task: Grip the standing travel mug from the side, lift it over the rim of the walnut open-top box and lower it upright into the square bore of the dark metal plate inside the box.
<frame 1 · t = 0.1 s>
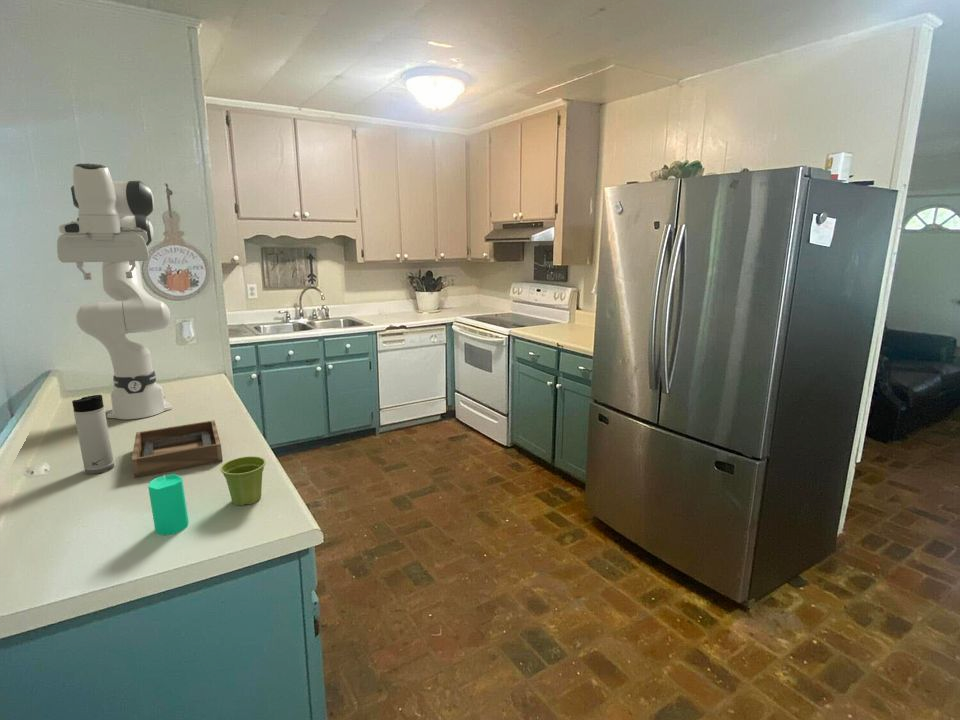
hand: (109, 278, 142), 48 cm above the worktop, tool pointing down, fingers open, 8 cm apart
plant pot: (247, 500, 119), on the worktop
open box: (179, 455, 144), on the worktop
candle: (172, 528, 108), on the worktop
travel mug: (100, 469, 135), on the worktop
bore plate: (178, 448, 143), in the open box, point 1 cm above the worktop
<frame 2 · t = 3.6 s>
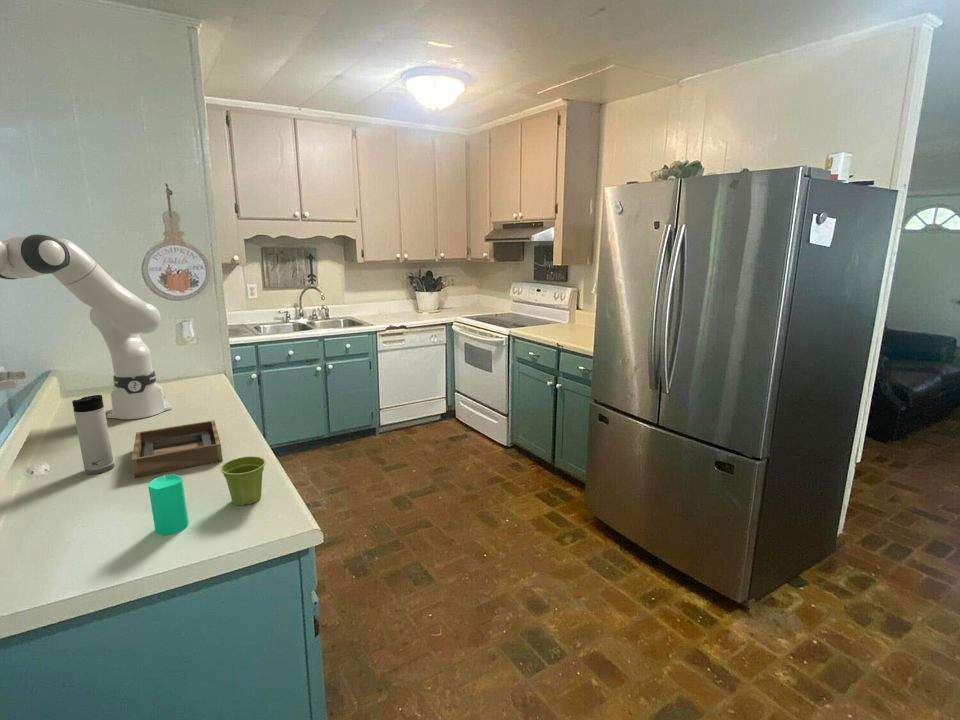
hand: (21, 378, 123), 26 cm above the worktop, tool horizontal, fingers open, 8 cm apart
nothing on the worktop moved.
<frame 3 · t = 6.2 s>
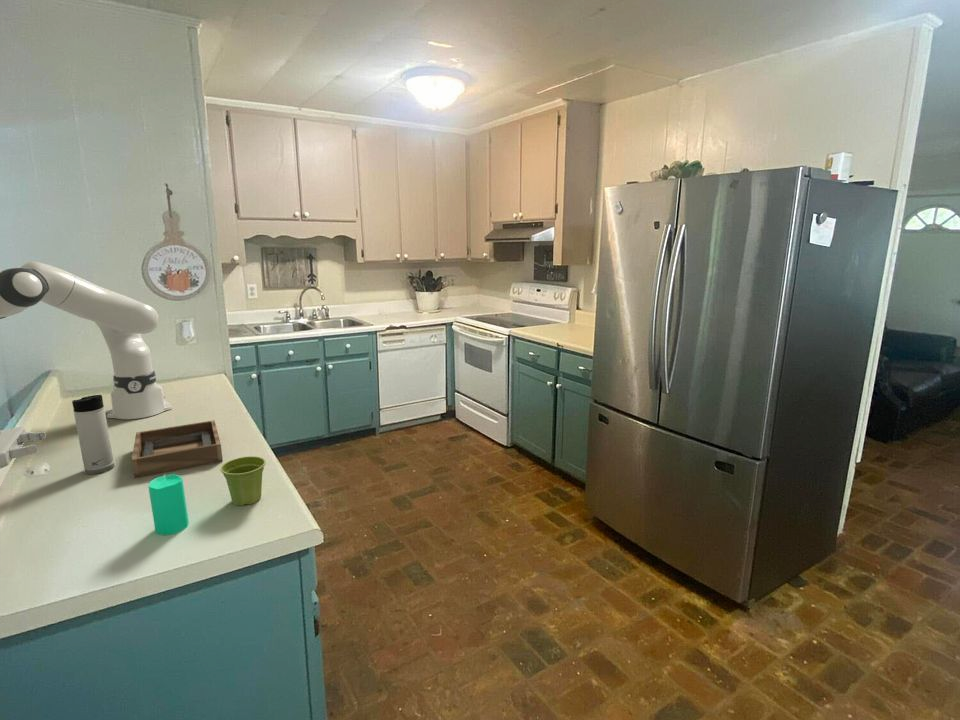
hand: (41, 441, 127), 10 cm above the worktop, tool horizontal, fingers open, 8 cm apart
nothing on the worktop moved.
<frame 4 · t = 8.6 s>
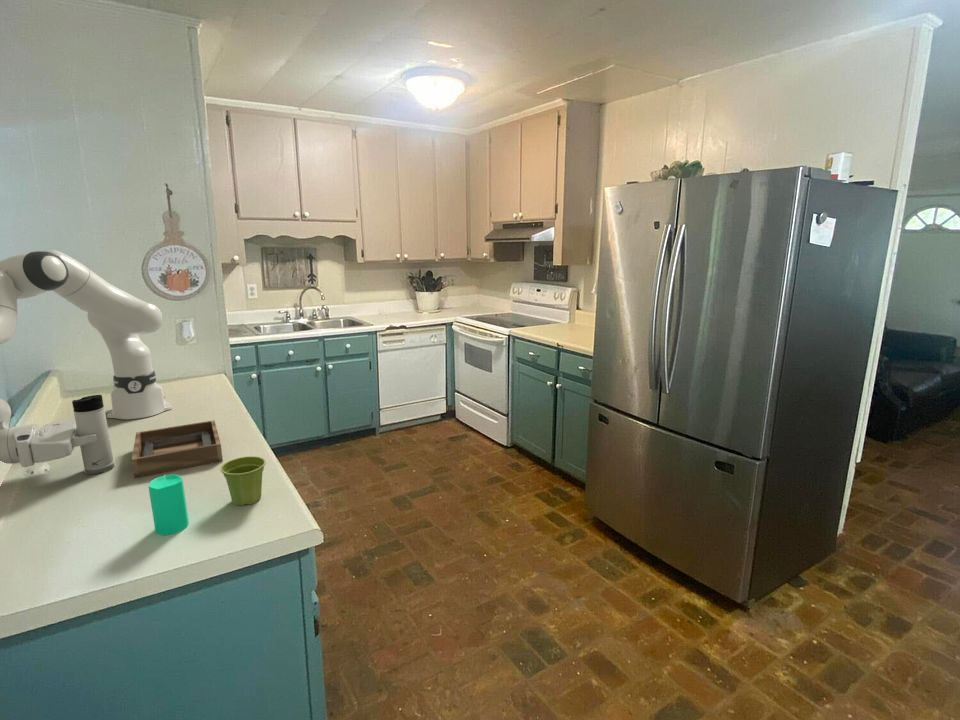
hand: (98, 432, 133), 10 cm above the worktop, tool horizontal, fingers closed on travel mug, 6 cm apart
travel mug: (100, 469, 135), on the worktop, touching gripper
everything else where it was.
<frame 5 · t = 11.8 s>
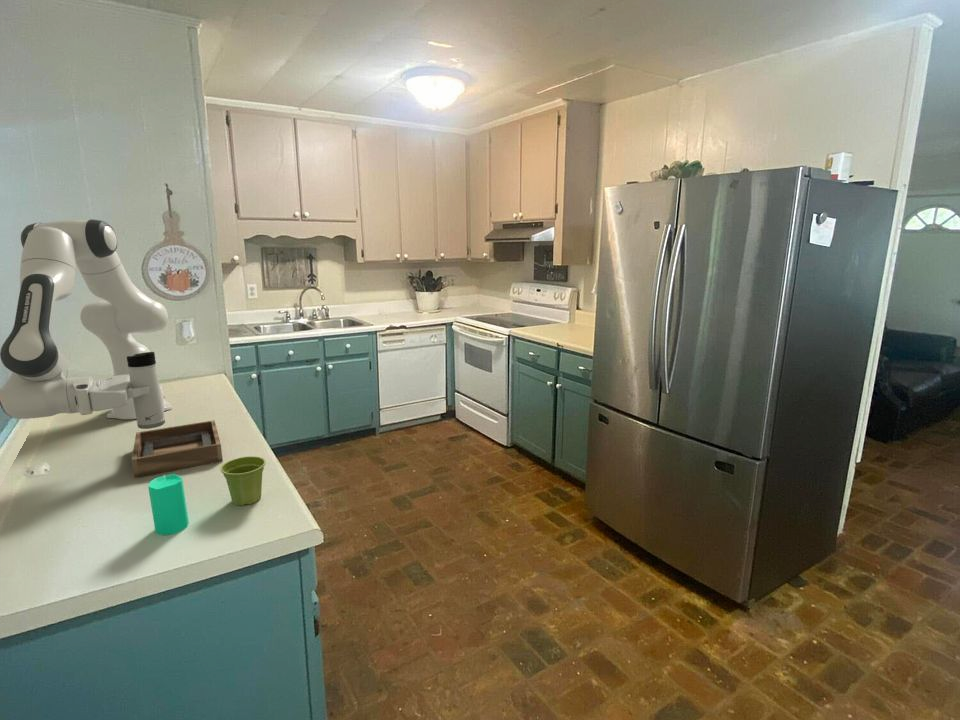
hand: (150, 386, 136), 21 cm above the worktop, tool horizontal, fingers closed on travel mug, 6 cm apart
travel mug: (152, 425, 138), point 10 cm above the worktop, touching gripper
everything else where it was.
when the fingers open (12 cm above the worktop, at t = 15.0 s): travel mug stays where it is, resting on open box.
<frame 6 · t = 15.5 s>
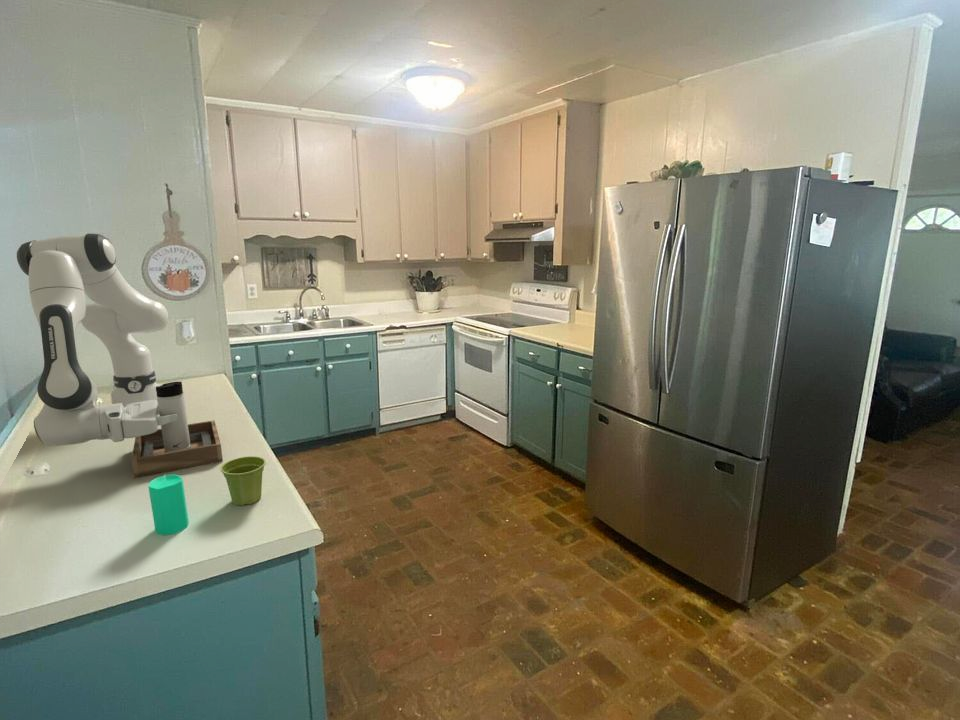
hand: (177, 411, 142), 12 cm above the worktop, tool horizontal, fingers open, 8 cm apart
travel mug: (178, 452, 144), point 1 cm above the worktop, touching open box
everything else where it was.
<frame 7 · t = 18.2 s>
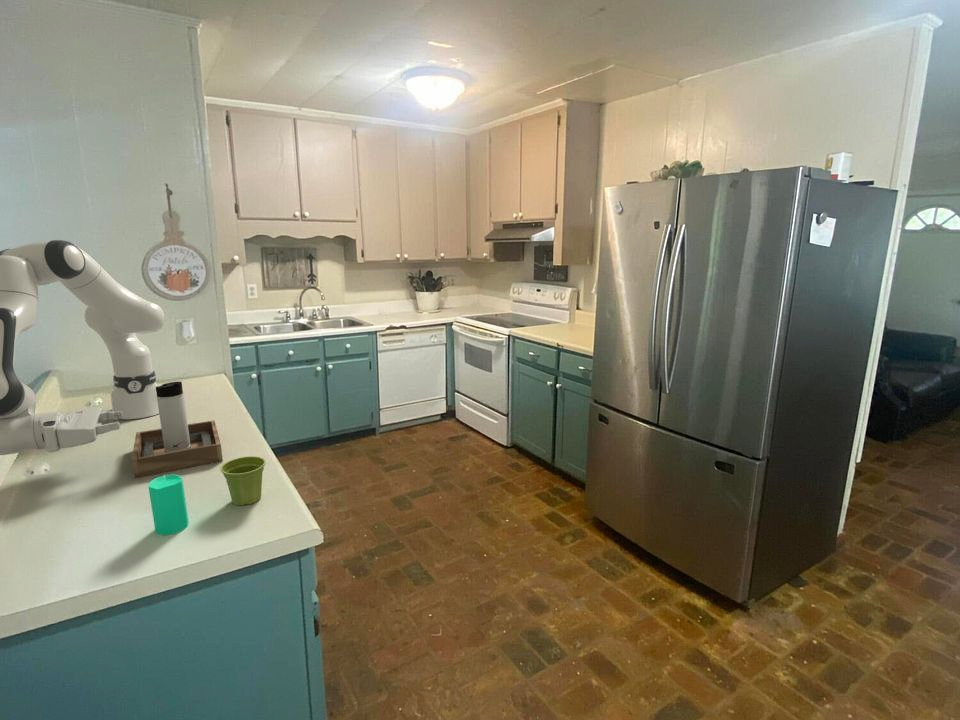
hand: (121, 419, 135), 13 cm above the worktop, tool horizontal, fingers open, 8 cm apart
nothing on the worktop moved.
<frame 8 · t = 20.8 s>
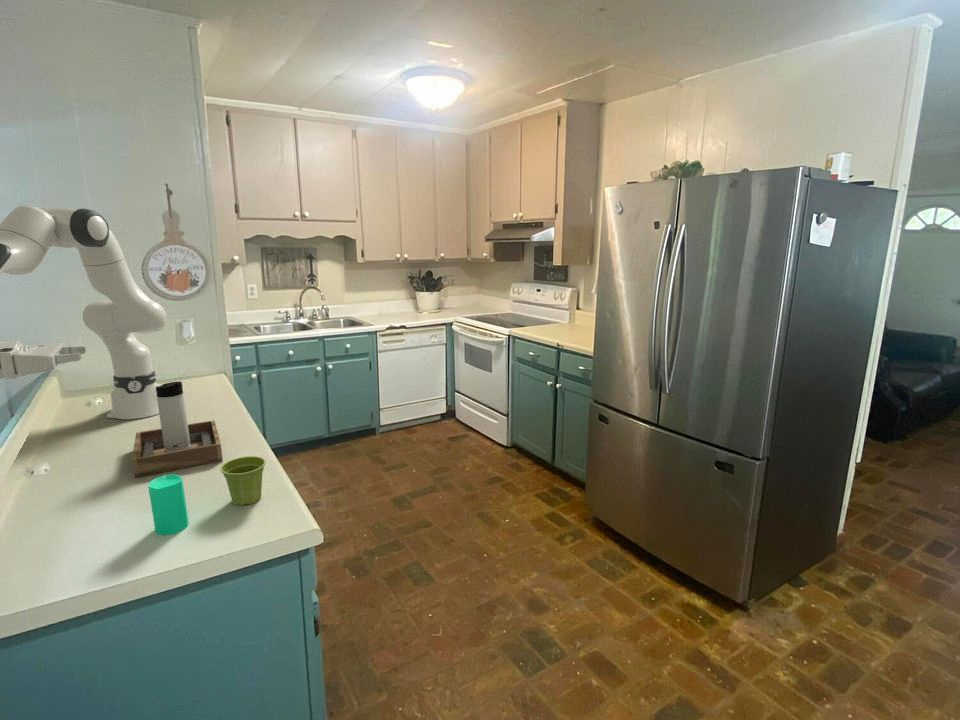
hand: (83, 353, 133), 30 cm above the worktop, tool horizontal, fingers open, 8 cm apart
nothing on the worktop moved.
at the end: travel mug 0.1 cm off-centre on the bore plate, point 0.8 cm above the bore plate's base; travel mug tilted 0°; the gripper is holding nothing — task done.
